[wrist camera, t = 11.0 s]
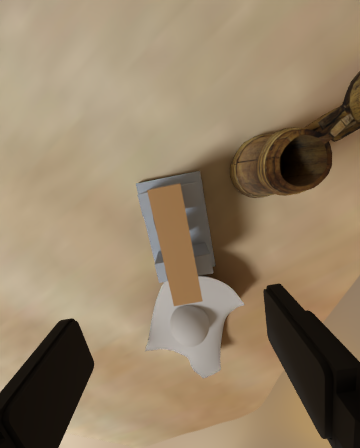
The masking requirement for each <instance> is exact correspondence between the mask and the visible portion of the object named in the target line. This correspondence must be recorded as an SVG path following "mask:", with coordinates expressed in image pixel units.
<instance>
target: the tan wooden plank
mask: <svg viewBox="0 0 360 448" xmlns="http://www.w3.org/2000/svg"><path fill="white" fill-rule="evenodd" d="M147 192H148V197H149V201H150V205H151V210H152V214H153V220H154V225H155V228H156V231H157V235H158V240H159V244H160V248H161V253H162V257H163V261H164V265H165V271H166V276H167V280H168V283H169V287H170V291H171V295H172V300H173V304H174V306H179V305H185V304H191V303H196V302H202V301H203V300H202V295H201V289H200V284H199V279H198V274H197V268H196V263H195V258H194V253H193V247H192V242H191V237H190V232H189V226H188V221H187V216H186V211H185V205H184V200H183V195H182V190H181V184H180V183H177V184H172V185H167V186H162V187H157V188H153V189H150V190H147Z"/></svg>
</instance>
